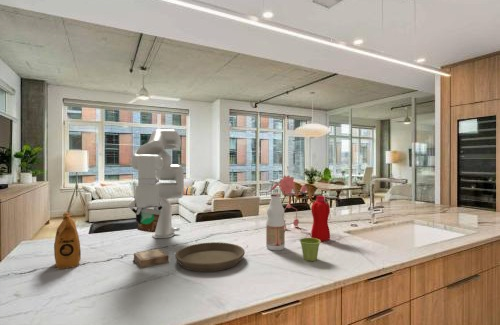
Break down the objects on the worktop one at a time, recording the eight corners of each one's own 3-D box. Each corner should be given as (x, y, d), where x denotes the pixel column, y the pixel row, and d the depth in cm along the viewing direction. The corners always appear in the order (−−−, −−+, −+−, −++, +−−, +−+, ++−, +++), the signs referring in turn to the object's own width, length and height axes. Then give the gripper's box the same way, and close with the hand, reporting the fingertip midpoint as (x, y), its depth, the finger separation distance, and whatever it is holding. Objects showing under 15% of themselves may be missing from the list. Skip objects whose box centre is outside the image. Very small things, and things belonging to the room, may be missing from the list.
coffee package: (52, 271, 119) (51, 217, 119) (55, 261, 130) (54, 212, 130) (80, 266, 124) (80, 215, 124) (80, 258, 135) (80, 210, 134)
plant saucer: (170, 255, 140) (170, 245, 140) (231, 247, 152) (231, 238, 152) (182, 279, 111) (182, 268, 111) (255, 267, 123) (255, 257, 123)
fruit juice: (267, 251, 145) (267, 195, 145) (265, 245, 155) (265, 192, 154) (285, 250, 146) (286, 194, 145) (283, 245, 155) (283, 192, 155)
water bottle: (325, 243, 158) (325, 197, 157) (308, 239, 166) (308, 195, 166) (334, 240, 164) (335, 196, 163) (318, 236, 172) (318, 194, 172)
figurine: (310, 227, 193) (309, 175, 194) (275, 231, 183) (274, 176, 184) (297, 223, 207) (296, 174, 208) (265, 227, 197) (264, 175, 198)
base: (160, 254, 139) (160, 248, 139) (168, 262, 130) (168, 255, 130) (133, 259, 132) (133, 252, 132) (141, 267, 123) (141, 260, 123)
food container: (128, 227, 131) (133, 205, 132) (140, 228, 136) (145, 207, 137) (144, 232, 123) (149, 209, 125) (156, 233, 128) (161, 210, 130)
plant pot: (308, 264, 127) (308, 244, 127) (295, 257, 135) (295, 239, 135) (324, 260, 131) (325, 241, 131) (311, 254, 140) (311, 236, 140)
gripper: (163, 181, 139) (163, 218, 139) (124, 182, 129) (125, 222, 129) (168, 182, 133) (168, 221, 133) (128, 184, 123) (128, 226, 123)
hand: (147, 221), depth 131 cm, fingers closed on food container, 6 cm apart
